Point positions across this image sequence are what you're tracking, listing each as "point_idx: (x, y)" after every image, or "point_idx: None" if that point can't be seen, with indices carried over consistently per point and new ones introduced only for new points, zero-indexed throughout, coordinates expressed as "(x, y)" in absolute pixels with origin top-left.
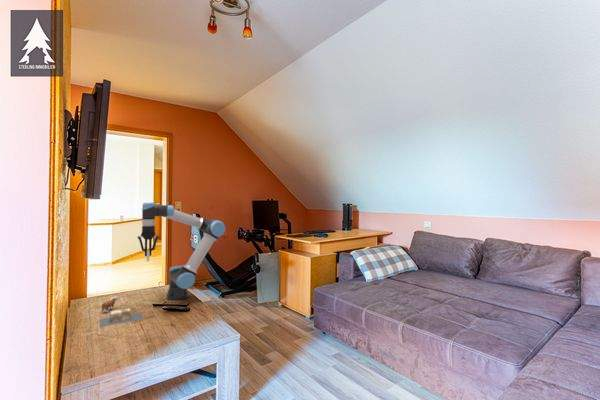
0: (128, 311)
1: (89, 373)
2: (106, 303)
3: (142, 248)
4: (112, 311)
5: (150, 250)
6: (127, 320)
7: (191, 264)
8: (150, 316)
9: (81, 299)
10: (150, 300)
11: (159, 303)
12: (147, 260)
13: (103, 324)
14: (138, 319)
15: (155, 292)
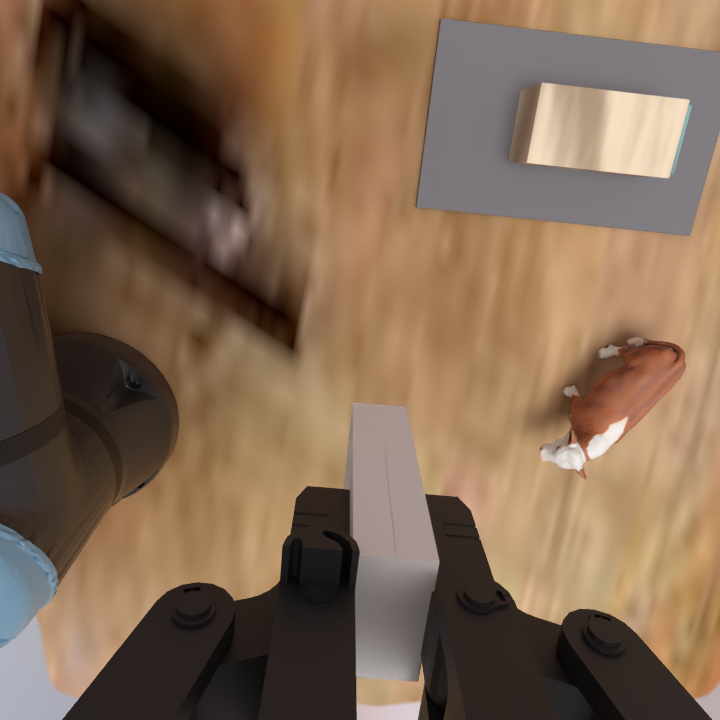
0: (556, 85)
1: None
2: (660, 361)
3: (655, 692)
4: (661, 166)
5: (324, 552)
6: (545, 71)
7: None
8: (372, 67)
9: None
10: (297, 445)
11: (249, 339)
12: (395, 413)
13: (705, 96)
14: (472, 36)
15: None
